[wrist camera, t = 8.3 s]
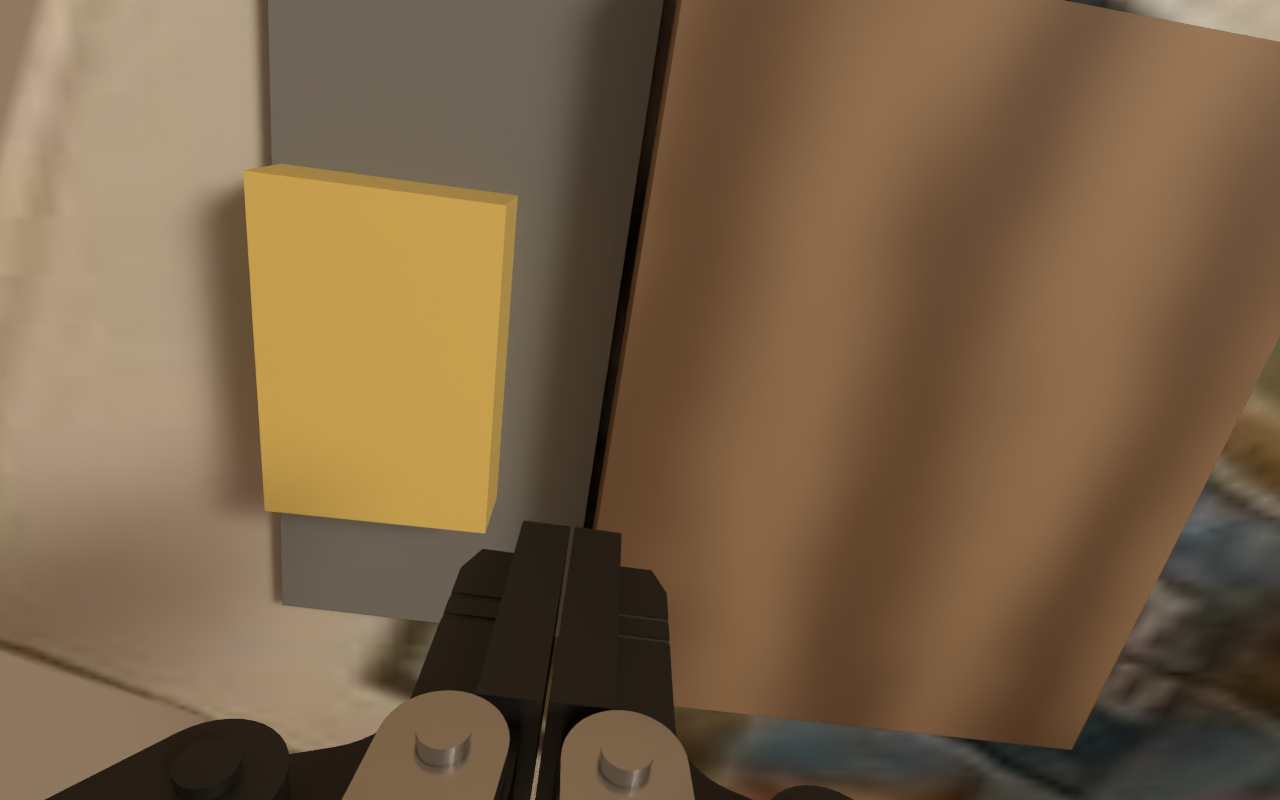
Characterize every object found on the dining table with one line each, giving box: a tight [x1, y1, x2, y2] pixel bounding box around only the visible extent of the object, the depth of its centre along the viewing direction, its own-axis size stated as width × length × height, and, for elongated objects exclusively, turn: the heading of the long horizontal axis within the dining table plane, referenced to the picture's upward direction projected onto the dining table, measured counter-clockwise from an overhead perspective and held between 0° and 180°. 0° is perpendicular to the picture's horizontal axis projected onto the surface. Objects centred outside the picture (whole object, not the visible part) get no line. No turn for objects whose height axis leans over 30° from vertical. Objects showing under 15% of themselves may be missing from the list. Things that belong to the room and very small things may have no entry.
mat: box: [268, 0, 664, 637], centre depth 21 cm, size 9×20×1 cm, turn 171°
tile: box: [243, 164, 518, 533], centre depth 20 cm, size 6×9×2 cm, turn 172°
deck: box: [592, 0, 1280, 750], centre depth 20 cm, size 16×20×3 cm
